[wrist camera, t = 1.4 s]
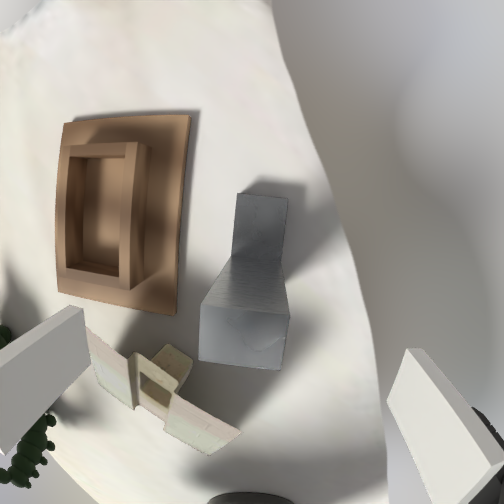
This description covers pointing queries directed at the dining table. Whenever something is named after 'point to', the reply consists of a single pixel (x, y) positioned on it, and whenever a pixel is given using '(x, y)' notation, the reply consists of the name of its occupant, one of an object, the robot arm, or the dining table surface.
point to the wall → (159, 392)
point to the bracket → (249, 291)
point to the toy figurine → (27, 443)
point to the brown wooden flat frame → (121, 210)
